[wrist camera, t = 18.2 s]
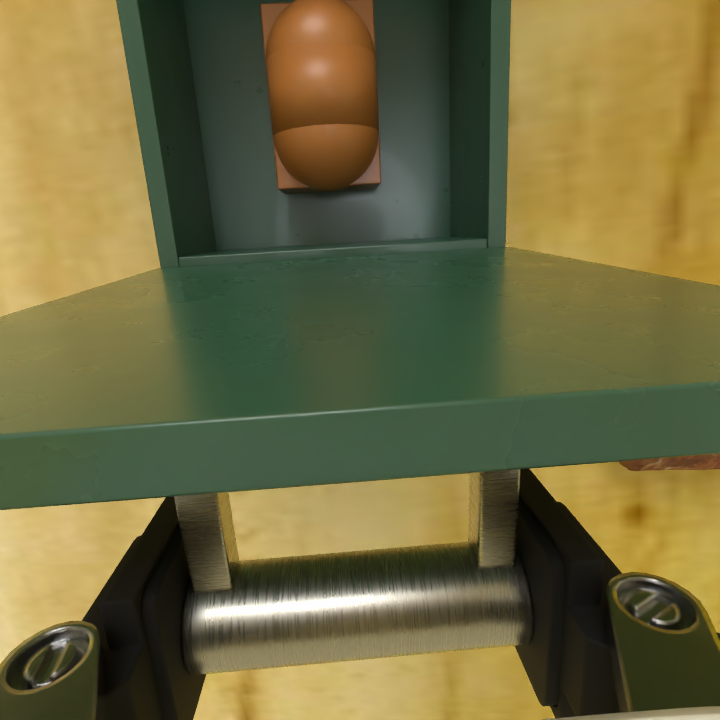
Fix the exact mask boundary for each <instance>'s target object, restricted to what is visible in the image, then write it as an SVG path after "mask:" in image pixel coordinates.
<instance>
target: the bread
mask: <svg viewBox="0 0 720 720" xmlns="http://www.w3.org/2000/svg"><path fill="white" fill-rule="evenodd" d="M619 462H620V464H621V465H623V466H624V467H626V468H627V469H629V470H632V471H644V470H707V469H720V453H719V454H706V455H693V456H681V457H668V458H655V459H643V460H630V461H619Z"/></svg>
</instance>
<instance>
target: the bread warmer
mask: <svg viewBox="0 0 720 720" xmlns="http://www.w3.org/2000/svg"><path fill="white" fill-rule="evenodd" d="M293 1H295V0H116V2H117V8H118V14H119V20H120V26H121V32H122V38H123V44H124V50H125V56H126V62H127V68H128V74H129V80H130V86H131V92H132V98H133V104H134V110H135V116H136V122H137V128H138V134H139V140H140V146H141V152H142V158H143V164H144V170H145V176H146V182H147V188H148V194H149V200H150V206H151V212H152V218H153V224H154V230H155V236H156V242H157V248H158V254H159V260H160V266H161V268H176V267H192V266H209V265H225V264H241V263H257V262H273V261H289V260H306V259H322V258H338V257H354V256H370V255H386V254H403V253H419V252H435V251H451V250H467V249H483V248H500V247H505V242H506V198H507V154H508V110H509V66H510V21H511V0H373V2H374V25H375V48H376V71H377V94H378V117H379V140H380V162H381V184H380V185H379V186H378V187H377V188H376V189H364V190H347V191H329V192H312V193H294V194H284V193H283V192H281V191H280V190H279V189H278V186H277V176H276V165H275V155H274V145H273V135H272V125H271V114H270V104H269V94H268V84H267V74H266V64H265V53H264V43H263V33H262V23H261V13H260V4H269V3H292V2H293Z"/></svg>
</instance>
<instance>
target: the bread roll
mask: <svg viewBox="0 0 720 720" xmlns="http://www.w3.org/2000/svg"><path fill="white" fill-rule="evenodd" d="M260 13H261V23H262V33H263V43H264V53H265V64H266V74H267V84H268V94H269V104H270V114H271V125H272V135H273V145H274V155H275V165H276V176H277V186H278V189H279V190H280V191H281V192H283V193H284V194H294V193H312V192H329V191H347V190H364V189H376V188H377V187H378V186H379V185H380V184H381V162H380V140H379V117H378V94H377V71H376V48H375V25H374V2H373V0H295V1H293V2H292V3H269V4H260Z"/></svg>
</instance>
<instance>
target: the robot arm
mask: <svg viewBox="0 0 720 720" xmlns="http://www.w3.org/2000/svg"><path fill="white" fill-rule="evenodd" d="M516 550H517V551H518V553H519V555H520V558H521V560H522V562H523V565H524V568H525V571H526V574H527V578H528V581H529V586H530V590H531V595H532V601H533V610H534V632H533V637H532V640H531V641H530V642H529V643H528V644H526V645H516V646H515V647H516V650H517V652H518V654H519V657H520V659H521V661H522V664H523V666H524V668H525V670H526V673H527V675H528V677H529V680H530V682H531V684H532V687H533V689H534V691H535V693H536V696H537V698H538V700H539V702H540V704H541V705H542V706H550V707H551V709H552V711H553V714H554V716H555V718H554V719H543V720H720V634H719V633H717V632H716V631H715V629H714V626H713V624H712V622H711V620H710V617H709V615H708V613H707V611H706V610H705V608H704V607H703V605H702V604H701V602H700V601H699V600H698V599H697V598H696V597H695V596H694V595H692V594H691V593H690V592H689V591H688V590H686V589H684V588H683V587H681V586H679V585H678V584H676V583H674V582H672V581H669V580H667V579H665V578H662V577H659V576H655V575H651V574H647V573H637V572H630V573H623V574H622V573H621V572H620V570H619V569H618V568H617V567H616V566H615V565H614V563H613V562H612V561H611V560H610V559H609V557H608V556H607V555H606V554H605V553H604V551H603V550H602V549H601V548H600V547H599V545H598V544H597V543H596V542H595V541H594V540H593V538H592V537H591V536H590V535H589V534H588V532H587V531H586V530H585V529H584V528H583V526H582V525H581V524H580V523H579V522H578V521H577V519H576V518H575V517H574V516H573V515H572V513H571V512H570V511H569V510H568V509H567V507H566V506H565V505H564V504H562V503H561V502H556V501H555V499H554V498H553V497H552V496H551V495H550V493H549V492H548V491H547V490H546V489H545V487H544V486H543V485H542V484H541V482H540V481H539V480H538V479H537V478H536V476H535V475H534V474H533V473H532V471H531V470H530V469H529V468H528V469H520V484H519V504H518V524H517V543H516ZM189 579H190V575H189V570H188V565H187V560H186V555H185V550H184V545H183V540H182V535H181V530H180V525H179V520H178V515H177V510H176V505H175V500H174V496H172V497H166V498H165V500H164V501H163V503H162V504H161V506H160V507H159V509H158V511H157V512H156V514H155V515H154V517H153V518H152V520H151V522H150V523H149V525H148V526H147V528H146V529H145V531H144V533H143V534H142V535H141V536H139V537H137V538H136V539H135V540H134V541H133V543H132V544H131V546H130V547H129V549H128V551H127V552H126V554H125V555H124V557H123V558H122V560H121V561H120V563H119V564H118V566H117V567H116V569H115V571H114V572H113V574H112V575H111V577H110V578H109V580H108V581H107V583H106V584H105V586H104V587H103V589H102V591H101V592H100V594H99V595H98V597H97V598H96V600H95V601H94V603H93V604H92V606H91V607H90V609H89V611H88V612H87V614H86V615H85V617H84V618H83V620H82V621H69V622H65V623H60V624H56V625H54V626H51V627H49V628H46V629H44V630H42V631H40V632H38V633H36V634H35V635H33V636H31V637H30V638H28V639H26V640H25V641H23V642H22V643H21V644H20V645H19V646H17V647H16V648H15V649H14V650H12V651H11V652H10V653H9V655H8V656H7V657H6V658H5V659H4V660H3V662H2V663H1V664H0V720H193V718H194V714H195V711H196V708H197V704H198V701H199V697H200V694H201V690H202V687H203V683H204V680H205V676H206V674H201V675H192V674H190V673H189V672H188V671H187V669H186V667H185V665H184V661H183V656H182V648H181V619H182V609H183V603H184V597H185V593H186V589H187V585H188V582H189Z"/></svg>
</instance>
